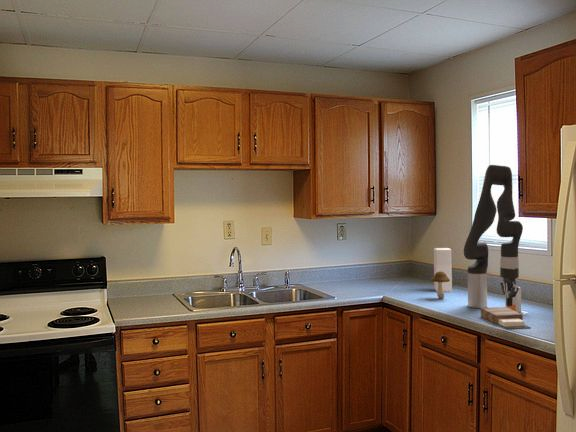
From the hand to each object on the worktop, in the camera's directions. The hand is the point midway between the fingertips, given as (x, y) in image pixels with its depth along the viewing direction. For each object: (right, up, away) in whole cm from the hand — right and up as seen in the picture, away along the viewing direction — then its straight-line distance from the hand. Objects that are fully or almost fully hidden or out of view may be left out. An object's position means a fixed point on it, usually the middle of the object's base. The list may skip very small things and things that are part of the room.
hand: (509, 305), depth 241 cm
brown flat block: (0, -8, +9) cm, 12 cm away
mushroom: (-13, -6, +62) cm, 64 cm away
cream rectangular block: (0, -8, -2) cm, 8 cm away
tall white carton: (-5, -5, +87) cm, 87 cm away
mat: (+1, -8, -4) cm, 9 cm away
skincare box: (+12, -7, +26) cm, 29 cm away
